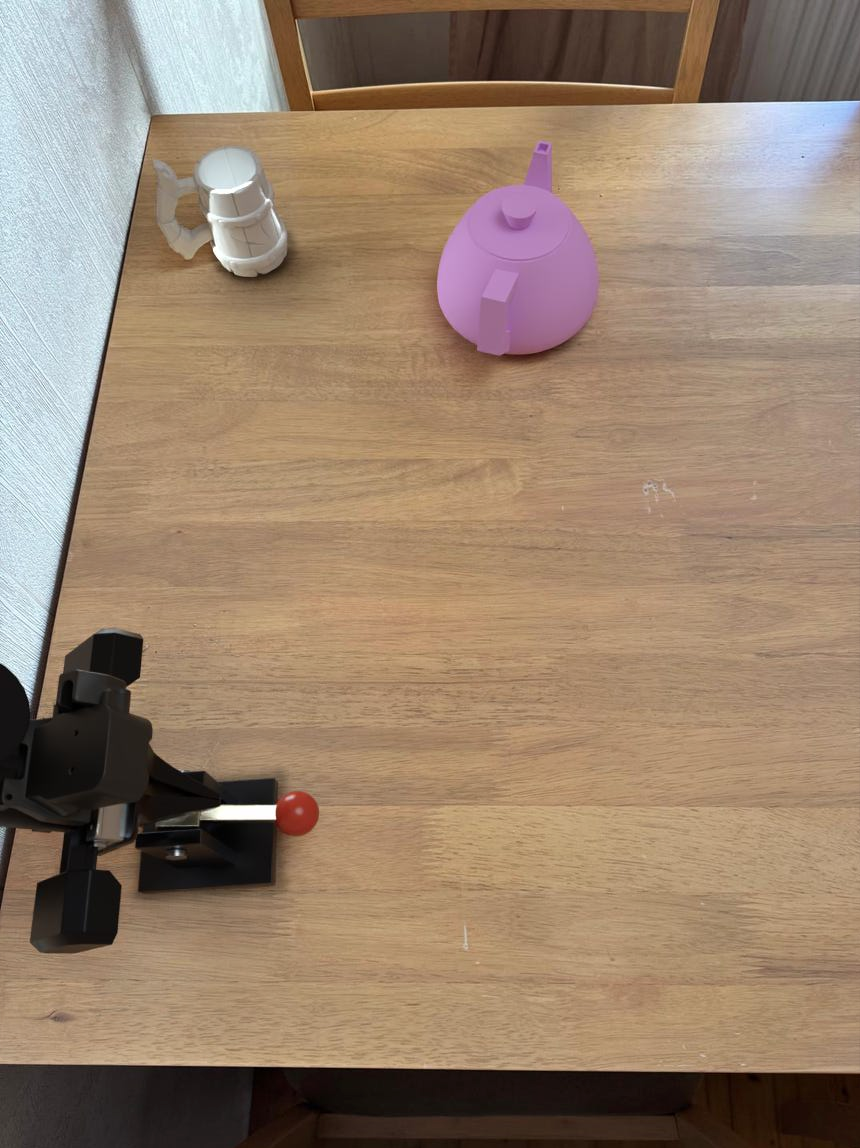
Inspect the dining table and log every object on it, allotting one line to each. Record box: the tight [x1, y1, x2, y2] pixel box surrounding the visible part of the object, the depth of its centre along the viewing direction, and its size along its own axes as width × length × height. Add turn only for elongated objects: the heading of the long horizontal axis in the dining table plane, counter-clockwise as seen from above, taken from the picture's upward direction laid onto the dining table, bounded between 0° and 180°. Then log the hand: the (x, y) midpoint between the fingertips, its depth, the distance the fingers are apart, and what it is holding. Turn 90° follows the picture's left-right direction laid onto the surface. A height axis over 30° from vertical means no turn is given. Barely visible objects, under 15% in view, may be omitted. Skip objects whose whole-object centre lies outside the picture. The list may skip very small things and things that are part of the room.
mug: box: [151, 144, 289, 278], centre depth 88 cm, size 8×12×12 cm, turn 107°
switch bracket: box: [134, 769, 279, 895], centre depth 66 cm, size 10×8×10 cm
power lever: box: [156, 790, 320, 837], centre depth 64 cm, size 11×3×3 cm, turn 94°
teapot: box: [436, 139, 600, 357], centre depth 85 cm, size 22×16×12 cm
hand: (217, 802), depth 60 cm, fingers closed
